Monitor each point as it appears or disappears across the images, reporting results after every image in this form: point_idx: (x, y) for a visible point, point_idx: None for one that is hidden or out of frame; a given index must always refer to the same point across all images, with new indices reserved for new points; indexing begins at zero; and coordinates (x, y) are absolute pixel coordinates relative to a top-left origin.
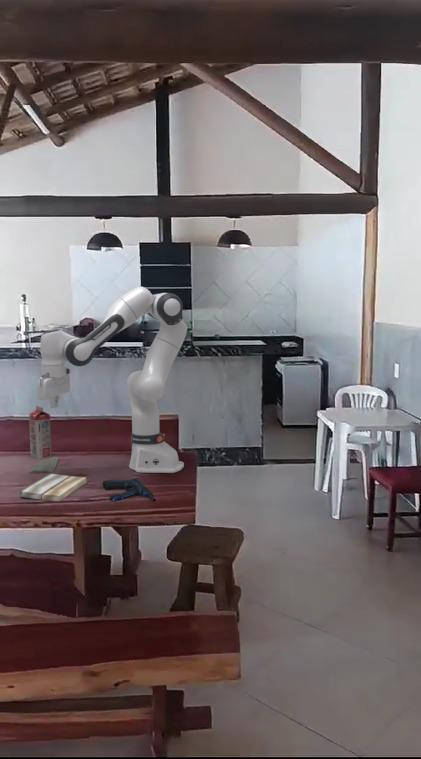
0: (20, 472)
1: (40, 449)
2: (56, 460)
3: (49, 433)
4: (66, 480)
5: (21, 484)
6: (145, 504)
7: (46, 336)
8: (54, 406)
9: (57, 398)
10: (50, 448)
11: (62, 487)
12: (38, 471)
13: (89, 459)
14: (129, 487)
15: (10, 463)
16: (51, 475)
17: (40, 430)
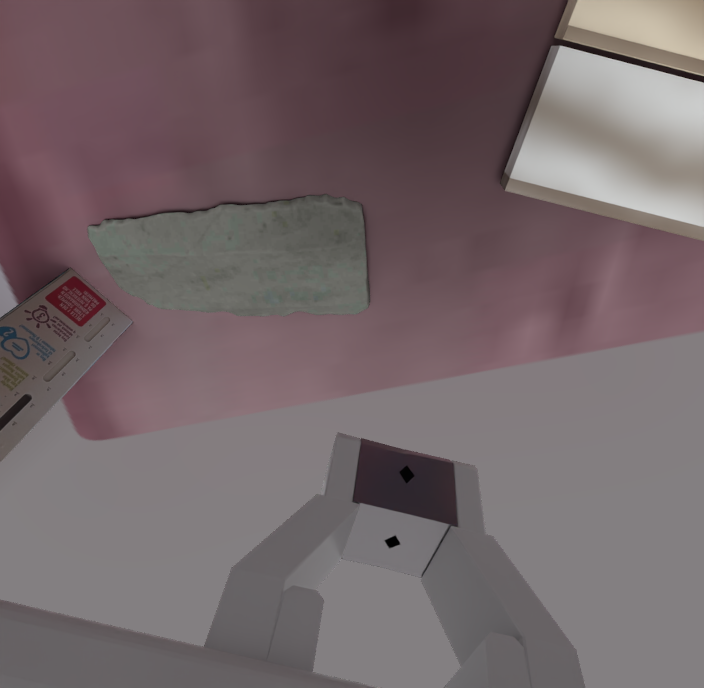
0: (353, 345)
1: (92, 333)
2: (160, 223)
3: None
4: (666, 38)
5: (554, 302)
6: None
7: None
8: (477, 486)
9: (294, 583)
10: (45, 291)
11: None
12: (366, 270)
13: (42, 18)
14: None
15: (221, 405)
16: (545, 170)
17: (19, 396)
